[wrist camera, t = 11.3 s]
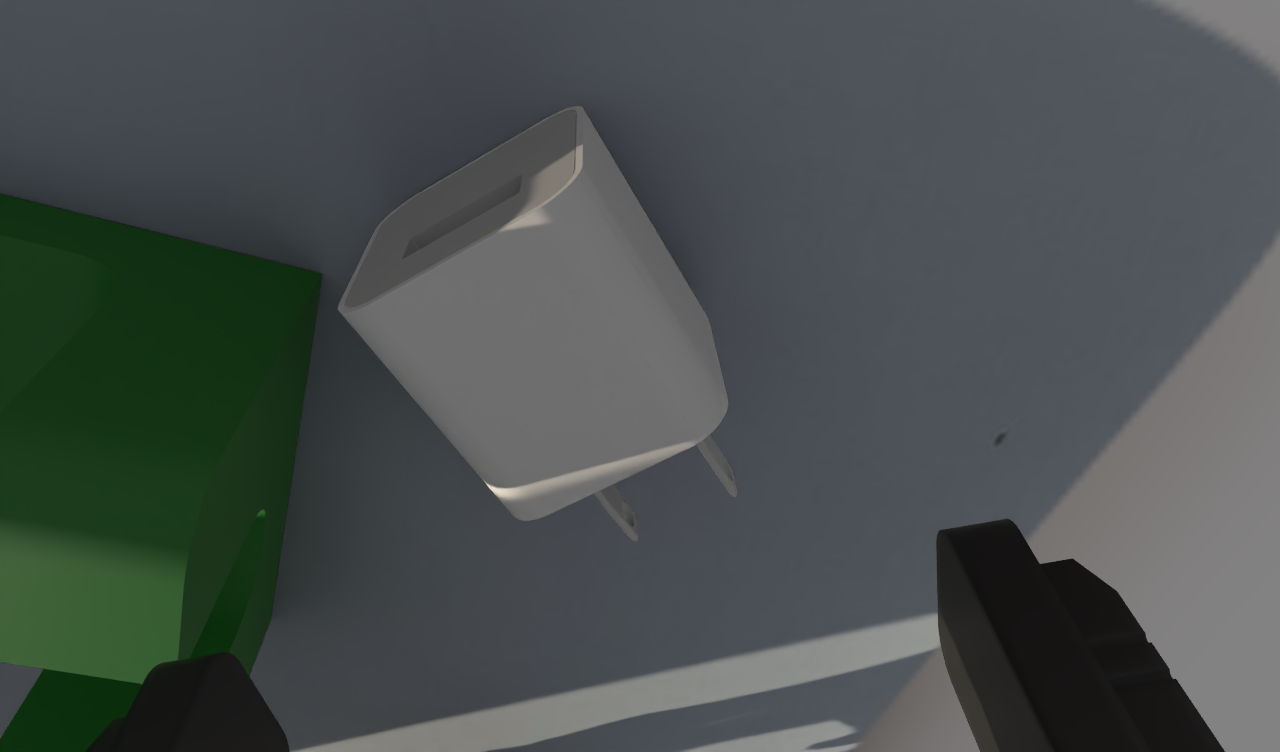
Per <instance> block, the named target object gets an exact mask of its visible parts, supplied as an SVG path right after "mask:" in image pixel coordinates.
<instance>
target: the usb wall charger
mask: <svg viewBox="0 0 1280 752" xmlns="http://www.w3.org/2000/svg"><path fill="white" fill-rule="evenodd" d="M338 310H339V312H340V313H341V314H342V315H343V316H344V318H345V319H346V320H347V321H348V322H349V324H350V325H351V326H352V327H353V328H354V329H355V331H356V332H357V333H358V334H359V335H360V336H361V338H362V339H363V340H364V341H365V342H366V344H367V345H368V346H369V347H370V348H371V349H372V351H373V352H374V353H375V354H376V355H377V356H378V358H379V359H380V360H381V361H382V362H383V363H384V365H385V366H386V367H387V368H388V369H389V371H390V372H391V373H392V374H393V375H394V376H395V378H396V379H397V380H398V381H399V382H400V383H401V385H402V386H403V387H404V388H405V389H406V390H407V392H408V393H409V394H410V395H411V396H412V398H413V399H414V400H415V401H416V402H417V403H418V405H419V406H420V407H421V408H422V409H423V410H424V412H425V413H426V414H427V415H428V416H429V417H430V419H431V420H432V421H433V422H434V423H435V425H436V426H437V427H438V428H439V429H440V430H441V432H442V433H443V434H444V435H445V436H446V437H447V439H448V440H449V441H450V442H451V443H452V444H453V446H454V447H455V448H456V449H457V450H458V452H459V453H460V454H461V455H462V456H463V457H464V459H465V460H466V461H467V462H468V463H469V464H470V466H471V467H472V468H473V469H474V470H475V471H476V473H477V474H478V475H479V476H480V477H481V479H482V480H483V481H484V482H485V483H486V484H487V486H488V487H489V488H490V489H491V490H492V491H493V493H494V494H495V495H496V496H497V497H498V498H499V500H500V501H501V502H502V503H503V504H504V506H505V507H506V508H507V509H508V510H509V511H510V513H511V514H512V515H513V516H514V517H515V518H517V519H519V520H523V521H531V520H536V519H540V518H542V517H545V516H547V515H549V514H551V513H554V512H556V511H558V510H560V509H562V508H564V507H566V506H568V505H570V504H572V503H575V502H577V501H579V500H581V499H583V498H585V497H587V496H589V495H591V494H594V495H595V497H596V498H597V499H598V500H599V502H600V503H601V504H602V506H603V507H604V508H605V510H606V511H607V512H608V513H609V515H610V516H611V517H612V518H613V519H614V521H615V522H616V523H617V524H618V525H619V527H620V528H621V529H622V530H623V531H624V533H625V534H626V535H627V536H628V537H629V539H630V540H631V541H633V542H636V541H637V540H638V532H637V517H636V514H635V513H634V512H633V510H632V509H631V507H630V506H629V504H628V503H627V502H626V500H625V499H624V497H623V496H622V494H621V493H620V492H619V490H618V489H617V487H616V486H615V483H617V482H619V481H621V480H623V479H625V478H627V477H629V476H632V475H634V474H636V473H638V472H640V471H642V470H644V469H646V468H648V467H651V466H653V465H655V464H657V463H659V462H661V461H663V460H665V459H667V458H670V457H672V456H674V455H676V454H678V453H680V452H682V451H684V450H686V449H689V448H691V447H693V446H694V445H696V446H697V447H698V449H699V450H700V452H701V453H702V455H703V456H704V458H705V459H706V461H707V462H708V464H709V465H710V467H711V468H712V470H713V471H714V473H715V474H716V475H717V477H718V478H719V480H720V481H721V483H722V484H723V486H724V487H725V488H726V490H727V491H728V493H729V494H730V495H731V496H733V497H735V496H737V489H736V484H735V479H734V475H733V471H732V469H731V467H730V466H729V464H728V462H727V461H726V459H725V458H724V456H723V454H722V453H721V451H720V449H719V448H718V446H717V445H716V443H715V441H714V440H713V438H712V437H711V435H710V434H711V433H712V432H713V431H714V430H715V429H716V428H717V427H718V425H719V424H720V423H721V421H722V420H723V418H724V416H725V414H726V411H727V408H728V398H727V394H726V390H725V385H724V381H723V377H722V373H721V369H720V364H719V360H718V356H717V352H716V347H715V343H714V339H713V335H712V331H711V326H710V322H709V319H708V317H707V315H706V314H705V312H704V310H703V309H702V307H701V305H700V304H699V302H698V300H697V299H696V297H695V295H694V294H693V292H692V290H691V289H690V287H689V285H688V284H687V282H686V280H685V279H684V277H683V275H682V273H681V272H680V270H679V268H678V267H677V265H676V263H675V262H674V260H673V258H672V257H671V255H670V253H669V252H668V250H667V248H666V247H665V245H664V243H663V242H662V240H661V238H660V237H659V235H658V233H657V232H656V230H655V228H654V227H653V225H652V223H651V222H650V220H649V218H648V216H647V215H646V213H645V211H644V210H643V208H642V206H641V205H640V203H639V201H638V200H637V198H636V196H635V195H634V193H633V191H632V190H631V188H630V186H629V185H628V183H627V181H626V180H625V178H624V176H623V175H622V173H621V171H620V170H619V168H618V166H617V165H616V163H615V161H614V160H613V158H612V156H611V154H610V153H609V151H608V149H607V148H606V146H605V144H604V143H603V141H602V139H601V138H600V136H599V134H598V133H597V131H596V129H595V128H594V126H593V124H592V123H591V121H590V119H589V118H588V116H587V114H586V113H585V111H584V109H583V108H582V107H581V106H573V107H569V108H566V109H564V110H561V111H559V112H557V113H555V114H553V115H551V116H549V117H547V118H545V119H544V120H542V121H540V122H538V123H537V124H535V125H533V126H532V127H530V128H528V129H527V130H525V131H523V132H521V133H520V134H518V135H516V136H515V137H513V138H511V139H510V140H508V141H506V142H504V143H503V144H501V145H499V146H498V147H496V148H494V149H493V150H491V151H489V152H487V153H486V154H484V155H482V156H481V157H479V158H477V159H476V160H474V161H472V162H470V163H469V164H467V165H465V166H464V167H462V168H460V169H459V170H457V171H455V172H453V173H452V174H450V175H448V176H447V177H445V178H443V179H442V180H440V181H438V182H436V183H435V184H433V185H431V186H430V187H428V188H426V189H425V190H423V191H421V192H419V193H418V194H416V195H414V196H413V197H411V198H410V199H408V200H407V201H405V202H404V203H403V204H401V205H400V206H399V207H397V208H396V209H395V210H394V211H392V212H391V213H390V214H389V215H388V216H387V217H386V218H385V219H384V220H383V221H382V222H381V223H380V224H379V225H378V226H377V228H376V229H375V231H374V233H373V235H372V237H371V239H370V241H369V243H368V245H367V247H366V249H365V251H364V253H363V255H362V257H361V260H360V262H359V264H358V266H357V268H356V270H355V272H354V274H353V276H352V278H351V280H350V282H349V284H348V286H347V288H346V290H345V292H344V294H343V296H342V298H341V300H340V303H339V305H338ZM623 513H624V514H623ZM624 515H625V516H624ZM625 517H626V518H625Z"/></svg>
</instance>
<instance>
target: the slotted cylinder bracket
mask: <svg viewBox="0 0 1280 752" xmlns="http://www.w3.org/2000/svg"><path fill="white" fill-rule="evenodd" d="M322 275H323V274H321V273H317V272H313V271H309V270H305V269H301V268H297V267H293V266H289V265H285V264H281V263H277V262H273V261H269V260H265V259H261V258H257V257H253V256H249V255H245V254H241V253H237V252H233V251H228V250H224V249H220V248H216V247H212V246H208V245H204V244H200V243H196V242H192V241H188V240H184V239H180V238H176V237H172V236H168V235H164V234H160V233H156V232H152V231H148V230H144V229H140V228H136V227H132V226H128V225H124V224H120V223H116V222H112V221H108V220H103V219H99V218H95V217H91V216H87V215H83V214H79V213H75V212H71V211H67V210H63V209H59V208H55V207H51V206H47V205H43V204H39V203H35V202H31V201H27V200H23V199H19V198H15V197H11V196H7V195H3V194H0V662H3V663H10V664H16V665H23V666H29V667H36V668H42V669H44V670H43V671H42V673H41V674H40V676H39V678H38V679H37V681H36V682H35V684H34V686H33V687H32V689H31V690H30V692H29V694H28V695H27V697H26V698H25V700H24V702H23V703H22V705H21V706H20V708H19V710H18V711H17V713H16V714H15V716H14V718H13V719H12V721H11V722H10V724H9V726H8V727H7V729H6V730H5V732H4V734H3V735H2V737H1V738H0V752H85V751H86V750H87V749H88V748H89V747H90V745H91V744H92V743H93V742H94V741H95V740H96V739H97V738H98V737H99V735H100V734H101V733H102V732H103V731H104V730H105V729H106V728H107V727H108V725H109V724H110V723H111V722H112V721H113V720H114V719H118V718H124V717H126V715H127V713H128V711H129V709H130V707H131V705H132V703H133V701H134V699H135V697H136V696H137V694H138V692H139V690H140V688H141V686H142V684H143V682H144V680H145V678H146V676H147V675H148V673H149V672H150V671H151V670H152V669H153V668H154V667H155V666H156V665H158V664H160V663H164V662H170V661H176V660H182V659H187V658H193V657H199V656H205V655H210V654H216V653H222V652H228V653H231V654H233V655H234V656H235V657H236V658H237V659H238V660H239V661H240V663H241V664H242V666H243V667H244V669H245V671H246V672H247V674H248V675H250V673H251V670H252V667H253V665H254V662H255V660H256V657H257V654H258V652H259V649H260V647H261V644H262V642H263V639H264V636H265V634H266V631H267V629H268V626H269V623H270V620H271V614H272V607H273V600H274V594H275V587H276V580H277V574H278V567H279V560H280V554H281V547H282V541H283V534H284V527H285V521H286V514H287V507H288V501H289V494H290V487H291V481H292V474H293V467H294V461H295V454H296V447H297V441H298V434H299V428H300V421H301V414H302V408H303V401H304V394H305V388H306V381H307V374H308V368H309V361H310V354H311V348H312V341H313V334H314V328H315V321H316V315H317V308H318V301H319V295H320V288H321V281H322Z"/></svg>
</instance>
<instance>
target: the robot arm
mask: <svg viewBox="0 0 1280 752" xmlns="http://www.w3.org/2000/svg"><path fill="white" fill-rule="evenodd" d="M936 548H937V594H938V628H939V636H940V642H941V647H942V652H943V656H944V660H945V664H946V667H947V670H948V673H949V676H950V679H951V682H952V684H953V687H954V689H955V692H956V694H957V696H958V699H959V701H960V704H961V706H962V709H963V711H964V713H965V716H966V718H967V721H968V723H969V725H970V728H971V730H972V733H973V735H974V737H975V740H976V742H977V745H978V747H979V750H980V752H1225V751H1224V749H1223V748H1222V747H1221V745H1220V744H1219V742H1218V741H1217V739H1216V738H1215V736H1214V735H1213V733H1212V732H1211V730H1210V729H1209V727H1208V726H1207V724H1206V723H1205V721H1204V720H1203V718H1202V717H1201V715H1200V714H1199V712H1198V711H1197V709H1196V708H1195V706H1194V705H1193V703H1192V702H1191V700H1190V699H1189V697H1188V696H1187V695H1186V693H1185V692H1184V690H1183V689H1182V687H1181V686H1180V684H1179V683H1178V681H1177V680H1176V679H1173V678H1172V677H1171V675H1170V670H1169V668H1168V666H1167V665H1166V663H1165V662H1164V660H1163V659H1162V657H1161V656H1160V654H1159V653H1158V652H1157V650H1156V649H1155V647H1154V646H1153V645H1152V643H1148V641H1147V639H1146V635H1145V632H1144V631H1143V629H1142V628H1141V626H1140V625H1139V623H1138V622H1137V620H1136V619H1135V617H1134V616H1133V614H1132V613H1131V612H1130V610H1129V608H1128V607H1127V606H1126V605H1125V602H1124V601H1123V599H1122V598H1121V597H1120V595H1119V594H1118V592H1117V591H1116V590H1114V589H1113V588H1112V587H1110V586H1109V585H1108V584H1106V583H1105V582H1104V581H1102V580H1101V579H1100V578H1098V577H1097V576H1096V575H1094V574H1093V573H1091V572H1090V571H1089V570H1087V569H1086V568H1084V567H1083V566H1082V565H1081V564H1079V563H1078V562H1076V561H1075V560H1074V559H1067V560H1062V561H1056V562H1050V563H1044V564H1039V562H1038V561H1037V559H1036V557H1035V556H1034V554H1033V552H1032V550H1031V549H1030V547H1029V545H1028V544H1027V542H1026V540H1025V539H1024V537H1023V535H1022V534H1021V532H1020V530H1019V529H1018V527H1017V526H1016V525H1015V524H1014V522H1012V521H1011V520H1010V519H1002V520H997V521H991V522H985V523H979V524H974V525H968V526H962V527H956V528H950V529H945V530H940V531H939V532H938V534H937V542H936ZM85 752H290V751H289V745H288V742H287V738H286V736H285V733H284V732H283V730H282V728H281V726H280V725H279V723H278V722H277V720H276V718H275V717H274V715H273V714H272V712H271V710H270V709H269V707H268V706H267V704H266V703H265V701H264V699H263V698H262V696H261V695H260V693H259V691H258V690H257V688H256V687H255V685H254V683H253V682H252V680H251V679H250V677H249V675H248V674H247V672H246V671H245V669H244V667H243V666H242V664H241V663H240V661H239V660H238V659H237V658H236V657H235V656H234V655H233V654H231V653H228V652H222V653H216V654H210V655H205V656H199V657H193V658H187V659H182V660H176V661H170V662H164V663H160V664H158V665H156V666H155V667H154V668H153V669H152V670H151V671H150V672H149V673H148V675H147V676H146V678H145V680H144V682H143V684H142V686H141V688H140V690H139V692H138V694H137V696H136V697H135V699H134V701H133V703H132V705H131V707H130V709H129V711H128V713H127V715H126V717H124V718H118V719H114V720H113V721H112V722H111V723H110V724H109V725H108V727H107V728H106V729H105V730H104V731H103V732H102V733H101V734H100V735H99V737H98V738H97V739H96V740H95V741H94V742H93V743H92V744H91V745H90V747H89V748H88V749H87V750H86V751H85Z"/></svg>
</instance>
